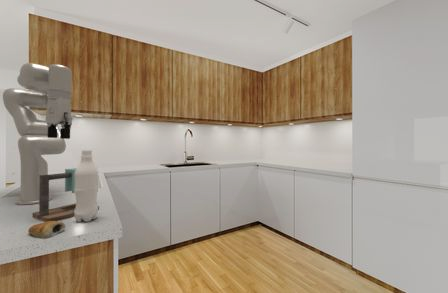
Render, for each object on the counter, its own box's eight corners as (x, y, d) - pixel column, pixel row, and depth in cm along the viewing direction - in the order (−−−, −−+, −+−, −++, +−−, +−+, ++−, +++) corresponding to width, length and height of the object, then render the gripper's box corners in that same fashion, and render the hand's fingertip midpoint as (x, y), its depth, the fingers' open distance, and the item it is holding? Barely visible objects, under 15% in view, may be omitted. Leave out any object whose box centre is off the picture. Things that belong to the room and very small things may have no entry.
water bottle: (86, 224, 70) (86, 151, 70) (68, 222, 72) (69, 150, 72) (102, 217, 78) (103, 150, 77) (86, 215, 79) (86, 150, 79)
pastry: (20, 237, 61) (20, 224, 61) (43, 228, 67) (43, 216, 68) (47, 239, 59) (48, 226, 59) (68, 230, 66) (68, 218, 66)
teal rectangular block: (65, 191, 84) (65, 169, 84) (78, 189, 88) (78, 168, 88) (73, 193, 81) (73, 170, 81) (86, 190, 85) (86, 168, 85)
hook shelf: (32, 216, 77) (32, 173, 77) (81, 205, 92) (81, 169, 92) (49, 223, 71) (49, 176, 71) (98, 209, 86) (99, 171, 86)
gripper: (37, 95, 85) (36, 137, 86) (60, 93, 78) (59, 138, 78) (59, 99, 92) (58, 137, 92) (81, 97, 84) (80, 139, 85)
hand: (58, 138), depth 85 cm, fingers open, 9 cm apart
